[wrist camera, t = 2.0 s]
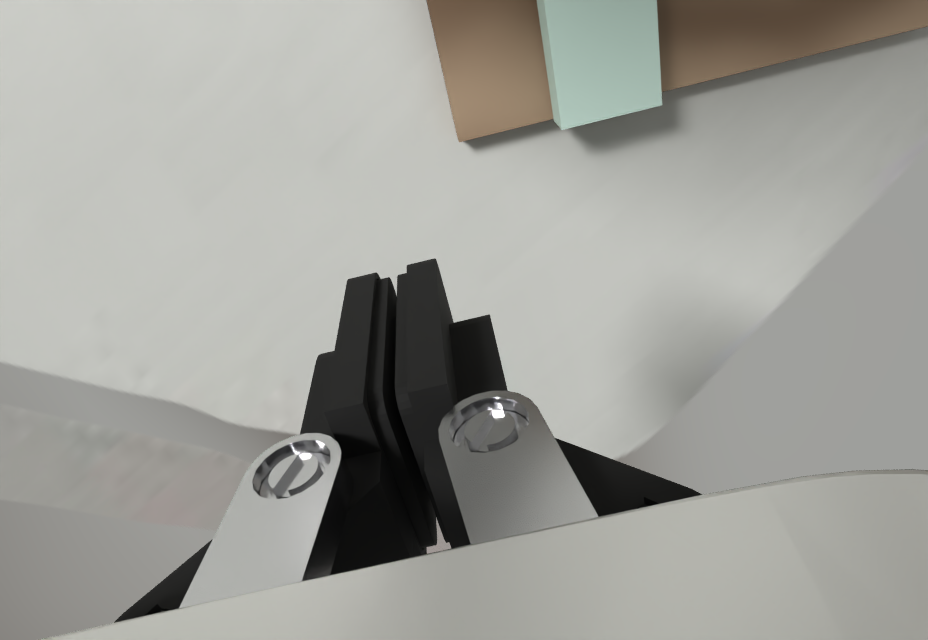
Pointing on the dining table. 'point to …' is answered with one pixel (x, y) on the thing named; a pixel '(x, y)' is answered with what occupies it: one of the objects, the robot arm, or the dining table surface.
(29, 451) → the dining table surface
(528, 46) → the board
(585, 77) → the link
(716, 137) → the dining table surface
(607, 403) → the dining table surface
